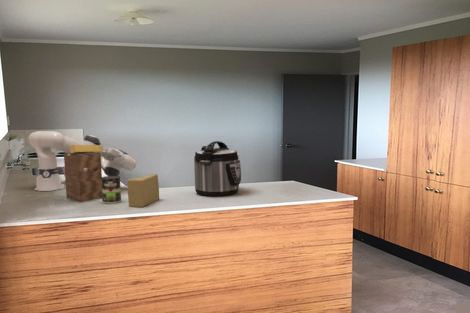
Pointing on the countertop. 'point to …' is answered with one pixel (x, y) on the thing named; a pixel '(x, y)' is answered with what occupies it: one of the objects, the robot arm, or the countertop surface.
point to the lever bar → (85, 148)
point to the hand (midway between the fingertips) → (96, 146)
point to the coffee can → (111, 189)
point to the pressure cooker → (217, 170)
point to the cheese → (143, 190)
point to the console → (83, 176)
